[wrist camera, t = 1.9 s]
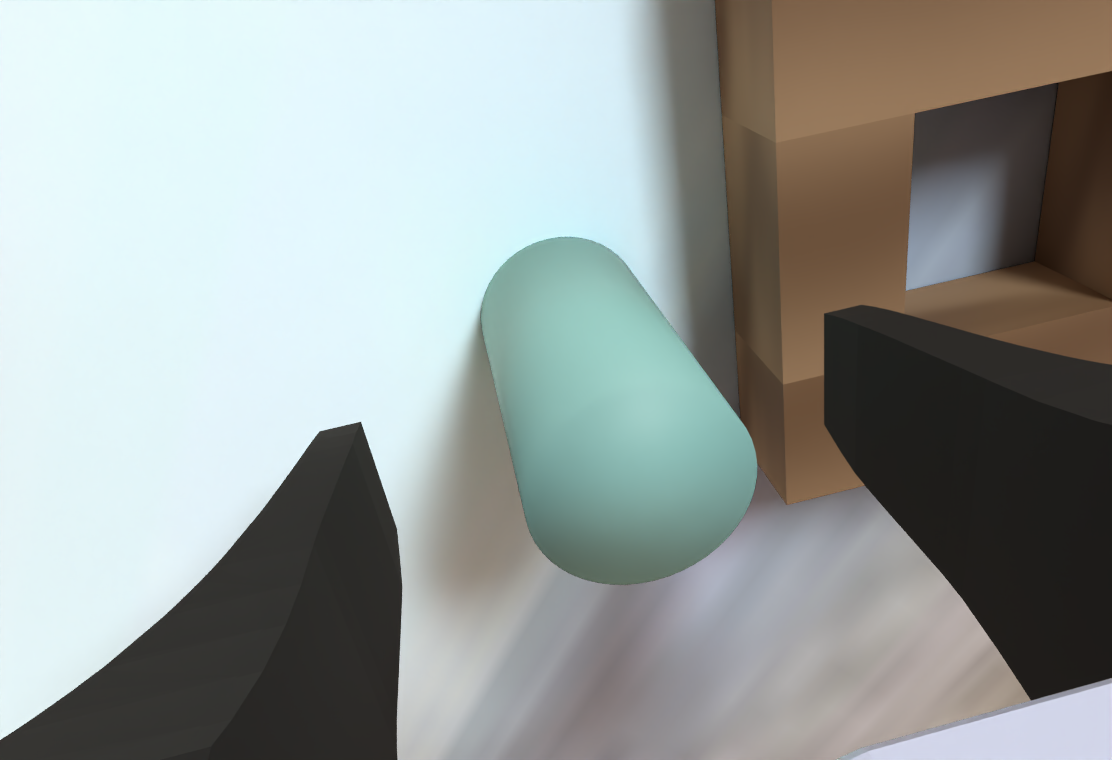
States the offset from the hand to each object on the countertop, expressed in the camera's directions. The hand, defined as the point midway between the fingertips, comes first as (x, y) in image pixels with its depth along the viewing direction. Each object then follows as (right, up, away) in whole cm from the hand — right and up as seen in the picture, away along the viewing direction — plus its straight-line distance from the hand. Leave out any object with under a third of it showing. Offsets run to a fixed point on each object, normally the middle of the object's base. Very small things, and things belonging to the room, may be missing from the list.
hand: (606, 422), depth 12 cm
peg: (-1, +2, +4) cm, 4 cm away
